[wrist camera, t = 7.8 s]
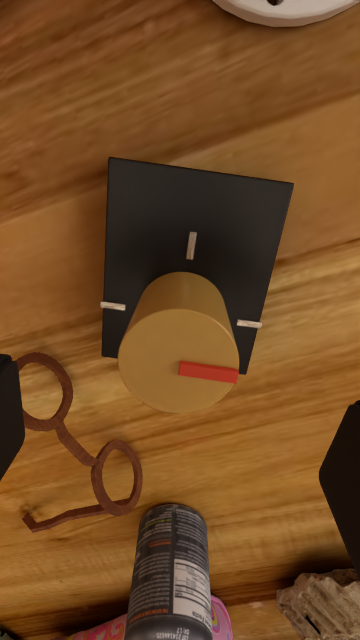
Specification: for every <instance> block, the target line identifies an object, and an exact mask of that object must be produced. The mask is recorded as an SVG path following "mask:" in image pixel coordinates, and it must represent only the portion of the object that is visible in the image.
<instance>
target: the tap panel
mask: <svg viewBox="0 0 360 640" xmlns="http://www.w3.org/2000/svg"><path fill="white" fill-rule="evenodd" d="M293 187H294V184H293V183H290V182H283V181H276V180H269V179H262V178H255V177H248V176H241V175H234V174H227V173H220V172H213V171H206V170H199V169H192V168H185V167H178V166H171V165H164V164H157V163H150V162H143V161H136V160H129V159H122V158H115V157H109V159H108V184H107V212H106V240H105V268H104V296H103V301H101V302H100V307H102V308H103V324H102V353H101V355H102V356H103V357H111V358H118V353H119V348H120V345H121V342H122V339H123V337H124V335H125V332H126V330H127V328H128V325H129V323H130V321H131V318H132V316H133V314H134V311H135V309H136V307H137V304H138V302H139V300H140V297H141V295H142V293H143V292H144V290H145V289H146V288H147V287H148V285H149V284H150V283H152V282H153V281H154V280H156V279H157V278H159V277H161V276H163V275H165V274H169V273H173V272H189V273H194V274H197V275H200V276H202V277H204V278H206V279H207V280H208V281H210V282H211V283H212V284H213V285H214V286H215V287H216V288H217V289H218V290H219V292H220V294H221V295H222V298H223V300H224V303H225V307H226V310H227V314H228V318H229V321H230V325H231V328H232V332H233V335H234V339H235V343H236V346H237V350H238V354H239V369H238V371H239V374H244V375H246V373H247V369H248V365H249V361H250V357H251V353H252V349H253V345H254V341H255V338H256V334H257V330H258V328H261V326H262V322H260V318H261V314H262V310H263V306H264V302H265V298H266V294H267V290H268V286H269V282H270V278H271V274H272V270H273V266H274V262H275V258H276V254H277V250H278V246H279V242H280V238H281V234H282V230H283V226H284V223H285V219H286V215H287V211H288V207H289V203H290V199H291V195H292V191H293Z"/></svg>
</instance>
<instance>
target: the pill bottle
mask: <svg viewBox="0 0 360 640" xmlns="http://www.w3.org/2000/svg"><path fill="white" fill-rule="evenodd" d="M124 640H213V633H212V614H211V596H210V578H209V561H208V542H207V526H206V523H205V521H204V519H203V517H202V516H201V515H200V514H199V513H198V512H197V511H195V510H193V509H191V508H189V507H186V506H183V505H176V504H167V505H161V506H158V507H155V508H153V509H151V510H150V511H148V512H147V513H146V514H145V515H144V516H143V518H142V520H141V522H140V525H139V534H138V540H137V547H136V555H135V563H134V570H133V576H132V584H131V592H130V599H129V606H128V613H127V620H126V628H125V636H124Z"/></svg>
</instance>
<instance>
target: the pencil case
mask: <svg viewBox="0 0 360 640" xmlns="http://www.w3.org/2000/svg"><path fill="white" fill-rule="evenodd" d="M210 596H211V614H212V633H213V640H233V634H232V627H231V622H230V618H229V615H228V612H227V610H226V608H225V606H224V604H223V603H222V601H221V600H220V599H219V598H217V597H215V596H213V595H211V594H210ZM126 620H127V614H124V615H121V616H119V617H117V618H115V619H113V620H111V621H108V622H105V623H103V624H101V625H98V626H96V627H94V628H92V629H89V630H87V631H80V632H77V633H75V634H73V635H71V636H69V637H66V636H60V637H56V638H54V639H51V640H124V636H125V628H126Z"/></svg>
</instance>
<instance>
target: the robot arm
mask: <svg viewBox="0 0 360 640" xmlns="http://www.w3.org/2000/svg"><path fill="white" fill-rule="evenodd" d="M212 1H213V2H215V3H216V4H217V5H218V6H220V7H221V8H222V9H224V10H226V11H228V12H230V13H232V14H234V15H236V16H238V17H240V18H242V19H244V20H246V21H248V22H253V23H257V24H262V25H267V26H271V27H289V26H303V25H306V24H310V23H314V22H318V21H321V20H325V19H328V18H330V17H332V16H334V15H336V14H338V13H340V12H342V11H344V10H346V9H348V8H350V7H352V6H354V5H356V4H357V3H358V2H360V0H276V1H277V5H276V6H273V5H271V4H269V3H268V2H267V0H212ZM24 438H25V427H24V418H23V409H22V400H21V390H20V381H19V372H18V365H17V362H16V361H12V358H11V356H10V355H6V354H0V481H1V479H2V477H3V476H4V474H5V473H6V471H7V469H8V468H9V466H10V464H11V463H12V461H13V460H14V458H15V456H16V455H17V453H18V452H19V450H20V448H21V446H22V445H23V442H24ZM319 481H320V484H321V487H322V489H323V492H324V494H325V497H326V499H327V502H328V504H329V507H330V509H331V512H332V514H333V517H334V519H335V522H336V524H337V526H338V529H339V531H340V534H341V536H342V539H343V541H344V544H345V546H346V549H347V551H348V554H349V556H350V559H351V561H352V564H353V566H354V569H355V571H356V574H357V576H358V579H359V581H360V400H358V401H356V402H355V403H354V404H352V405H350V406H349V407H348V409H347V411H346V413H345V415H344V417H343V419H342V422H341V424H340V426H339V428H338V430H337V433H336V435H335V437H334V439H333V441H332V444H331V446H330V448H329V450H328V452H327V455H326V457H325V459H324V461H323V463H322V465H321V468H320V470H319Z"/></svg>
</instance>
